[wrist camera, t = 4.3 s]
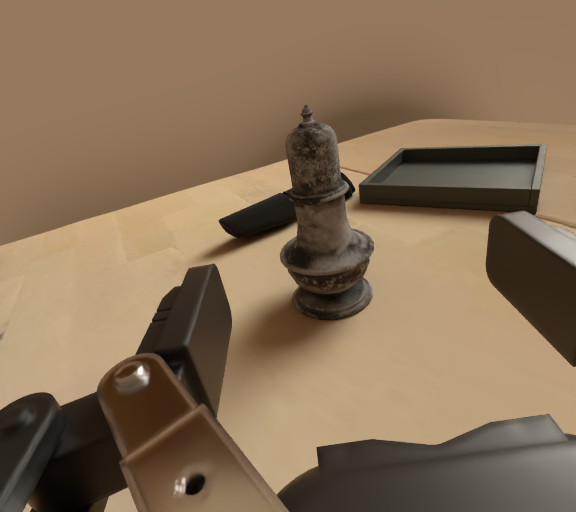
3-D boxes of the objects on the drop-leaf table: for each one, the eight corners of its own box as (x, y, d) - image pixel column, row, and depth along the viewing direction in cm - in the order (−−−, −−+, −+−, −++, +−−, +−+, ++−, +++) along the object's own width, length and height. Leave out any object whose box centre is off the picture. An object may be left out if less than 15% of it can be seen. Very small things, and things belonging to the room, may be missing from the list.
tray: (360, 203, 37) (358, 184, 36) (401, 163, 47) (400, 148, 46) (536, 212, 29) (540, 189, 28) (544, 162, 38) (547, 143, 37)
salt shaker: (381, 271, 26) (370, 88, 20) (371, 326, 21) (353, 106, 15) (302, 270, 28) (272, 103, 22) (277, 319, 23) (230, 123, 17)
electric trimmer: (219, 243, 35) (209, 213, 34) (334, 189, 42) (331, 163, 41) (237, 254, 33) (228, 222, 31) (358, 195, 39) (355, 167, 38)
